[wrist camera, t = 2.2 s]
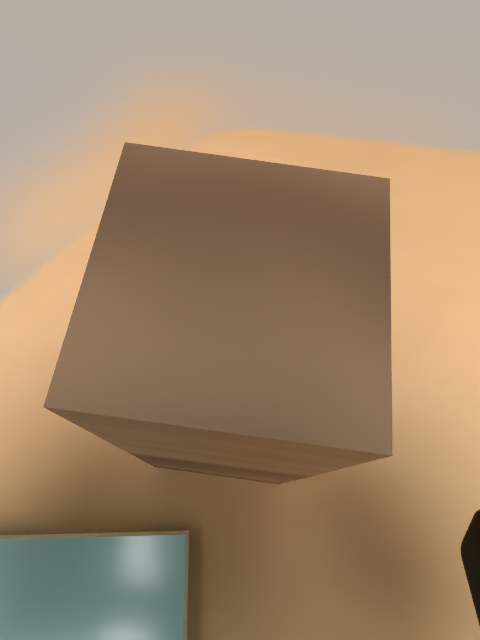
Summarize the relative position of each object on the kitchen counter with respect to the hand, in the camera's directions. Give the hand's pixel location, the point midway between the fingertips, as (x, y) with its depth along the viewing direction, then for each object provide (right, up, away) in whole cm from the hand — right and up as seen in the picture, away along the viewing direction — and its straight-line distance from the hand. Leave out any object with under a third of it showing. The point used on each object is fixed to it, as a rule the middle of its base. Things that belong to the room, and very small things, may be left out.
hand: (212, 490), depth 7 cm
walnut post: (0, -1, +11) cm, 11 cm away
